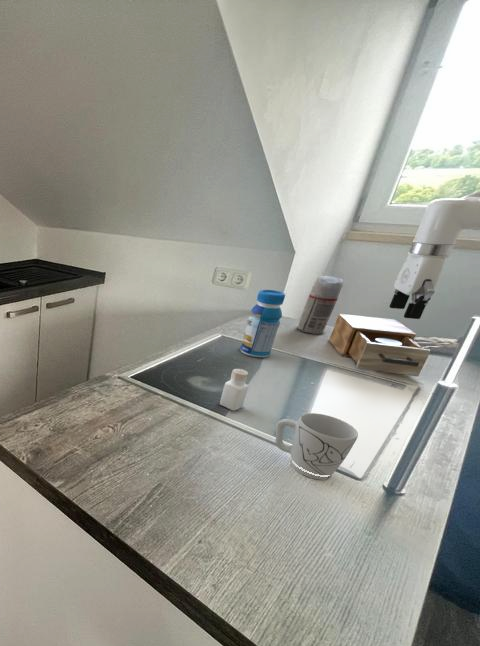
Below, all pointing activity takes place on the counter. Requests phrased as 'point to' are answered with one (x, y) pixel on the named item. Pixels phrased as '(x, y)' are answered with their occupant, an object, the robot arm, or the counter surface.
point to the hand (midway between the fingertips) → (403, 313)
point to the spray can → (320, 304)
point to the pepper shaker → (235, 390)
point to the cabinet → (363, 329)
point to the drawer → (387, 353)
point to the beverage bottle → (263, 324)
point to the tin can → (387, 341)
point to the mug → (317, 443)
